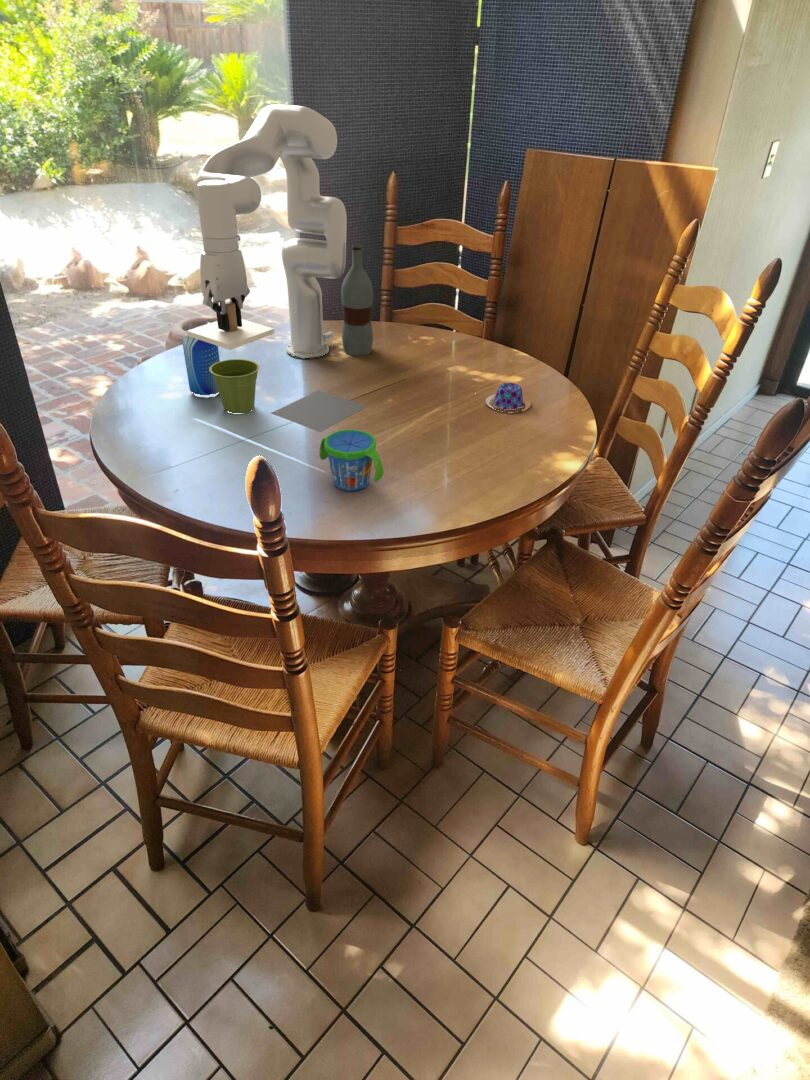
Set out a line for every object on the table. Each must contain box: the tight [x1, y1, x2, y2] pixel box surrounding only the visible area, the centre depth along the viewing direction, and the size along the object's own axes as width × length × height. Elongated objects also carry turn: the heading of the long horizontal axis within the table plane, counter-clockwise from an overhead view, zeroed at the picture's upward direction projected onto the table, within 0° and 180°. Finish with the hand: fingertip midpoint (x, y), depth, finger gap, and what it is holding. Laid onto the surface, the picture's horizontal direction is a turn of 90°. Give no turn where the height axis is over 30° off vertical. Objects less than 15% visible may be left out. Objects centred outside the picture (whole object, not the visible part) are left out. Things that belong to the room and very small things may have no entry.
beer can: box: [182, 330, 221, 395], centre depth 179 cm, size 8×8×16 cm
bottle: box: [340, 244, 374, 357], centre depth 202 cm, size 9×9×30 cm
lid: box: [186, 301, 275, 351], centre depth 162 cm, size 14×14×7 cm
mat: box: [271, 389, 368, 432], centre depth 176 cm, size 18×16×1 cm
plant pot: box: [209, 358, 261, 414], centre depth 172 cm, size 12×12×11 cm
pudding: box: [485, 382, 524, 414], centre depth 182 cm, size 12×12×5 cm
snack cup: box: [318, 429, 384, 492], centre depth 146 cm, size 16×10×10 cm
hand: (230, 326), depth 163 cm, fingers closed on lid, 3 cm apart
